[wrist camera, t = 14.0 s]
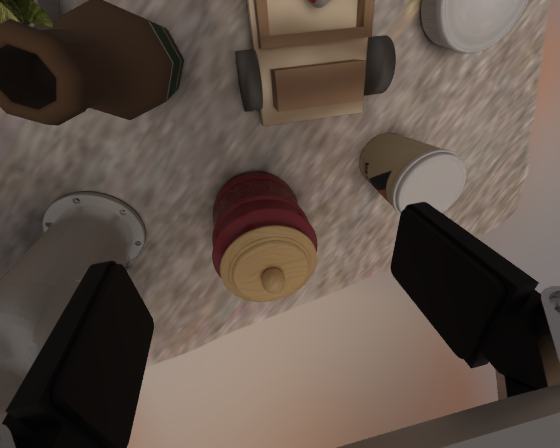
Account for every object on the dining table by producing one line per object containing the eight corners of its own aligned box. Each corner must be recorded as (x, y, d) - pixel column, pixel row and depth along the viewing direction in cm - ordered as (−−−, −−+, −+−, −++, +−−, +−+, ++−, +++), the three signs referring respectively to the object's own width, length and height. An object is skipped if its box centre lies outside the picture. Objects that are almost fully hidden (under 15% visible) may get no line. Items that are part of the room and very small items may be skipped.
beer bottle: (95, 61, 29) (-159, 85, 9) (133, -4, 27) (-90, -154, 7) (161, 112, 33) (81, 206, 13) (199, 59, 31) (172, 74, 11)
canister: (213, 242, 45) (212, 335, 30) (211, 167, 38) (210, 240, 23) (289, 240, 48) (322, 324, 33) (300, 170, 41) (347, 237, 26)
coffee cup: (343, 156, 41) (384, 190, 31) (395, 113, 39) (456, 134, 29) (371, 195, 46) (414, 235, 36) (418, 158, 44) (477, 189, 34)
